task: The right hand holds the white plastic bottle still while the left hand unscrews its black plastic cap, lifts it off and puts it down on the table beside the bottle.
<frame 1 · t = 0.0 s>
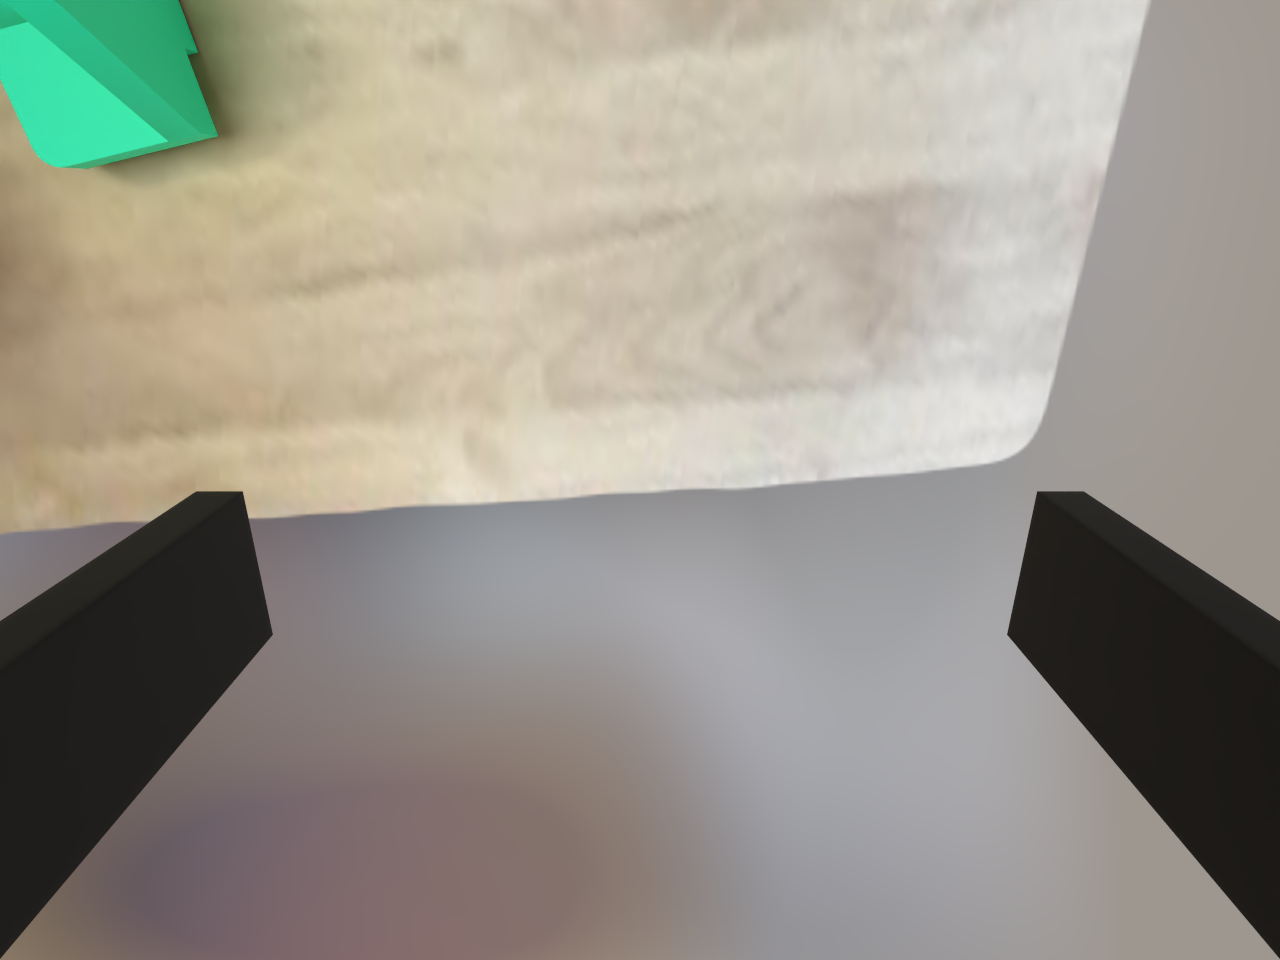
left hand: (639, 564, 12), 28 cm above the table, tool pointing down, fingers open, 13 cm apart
camera mount: (101, 16, 34), on the table
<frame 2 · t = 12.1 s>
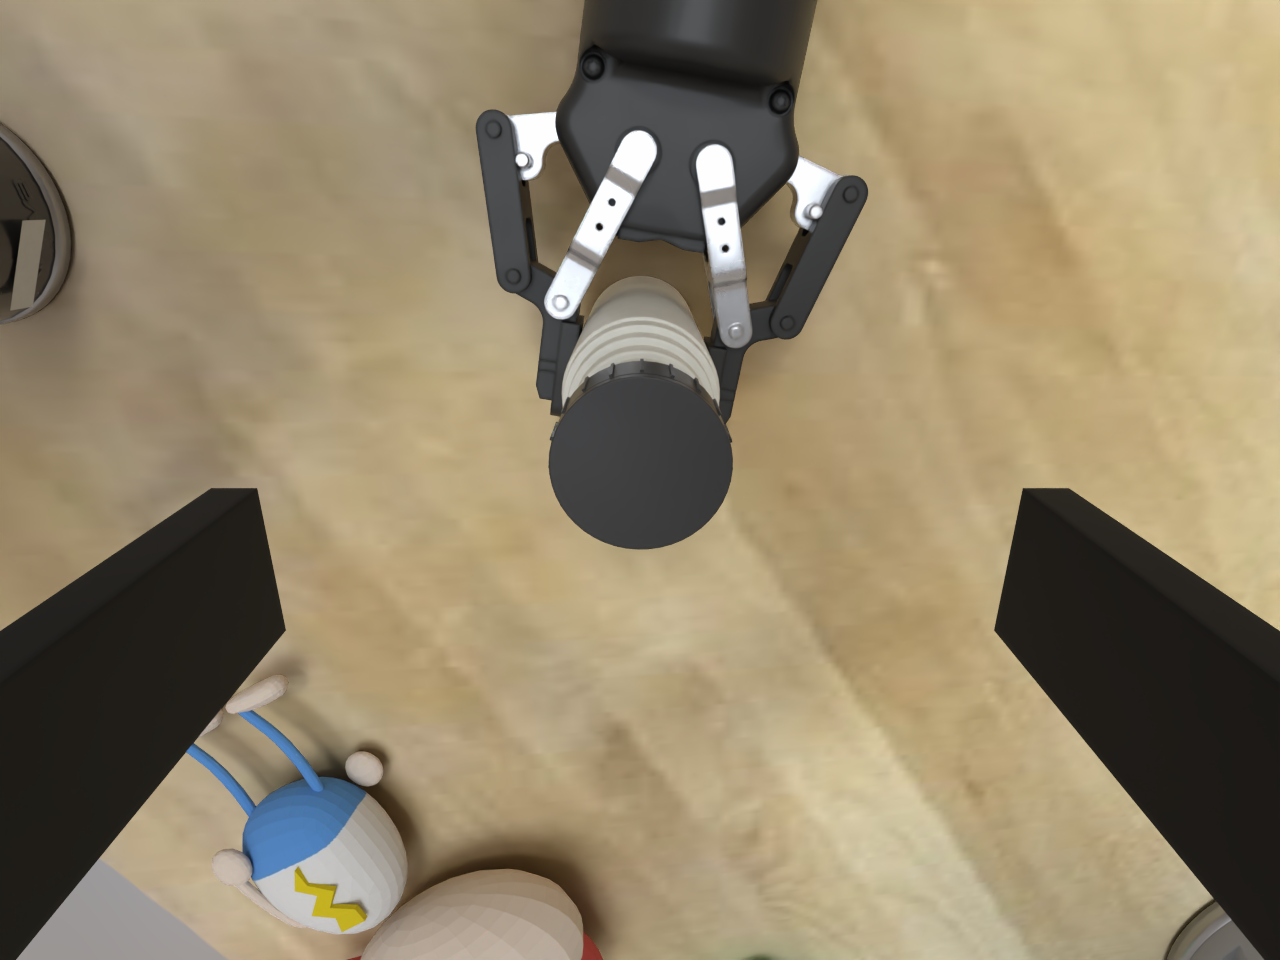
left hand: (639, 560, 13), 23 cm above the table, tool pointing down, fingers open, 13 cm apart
right hand: (630, 420, 29), fingers closed on bottle, 5 cm apart
toy: (413, 843, 46), on the table
bottle: (640, 329, 34), on the table, touching right hand
cap: (640, 462, 17), point 19 cm above the table, screwed on, not yet turned
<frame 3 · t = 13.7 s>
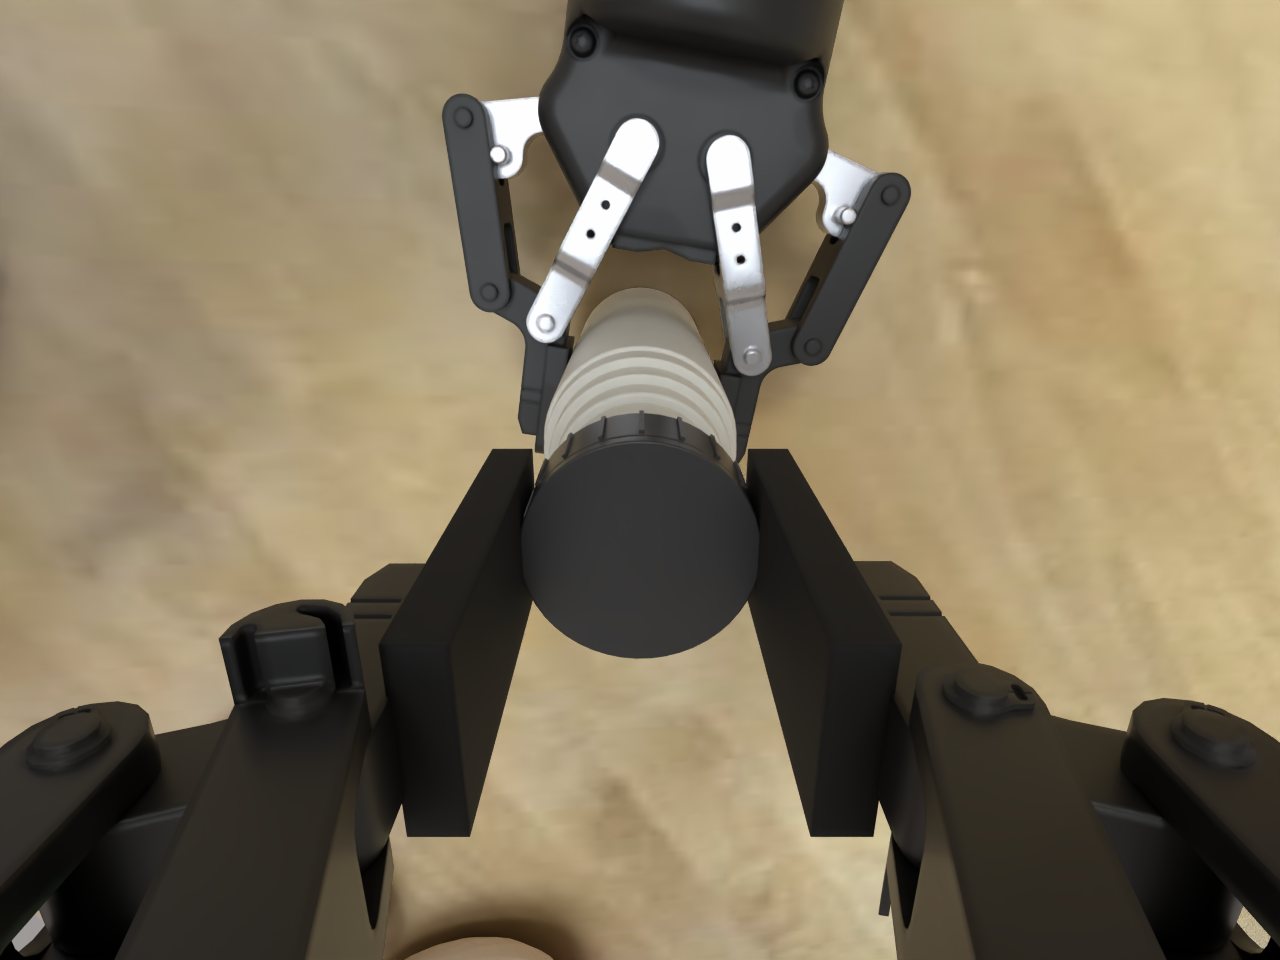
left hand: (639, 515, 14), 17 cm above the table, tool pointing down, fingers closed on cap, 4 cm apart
right hand: (628, 457, 25), fingers closed on bottle, 5 cm apart
toy: (391, 907, 42), on the table
bottle: (640, 348, 30), on the table, touching right hand
cap: (640, 548, 13), point 19 cm above the table, screwed on, not yet turned, touching left hand
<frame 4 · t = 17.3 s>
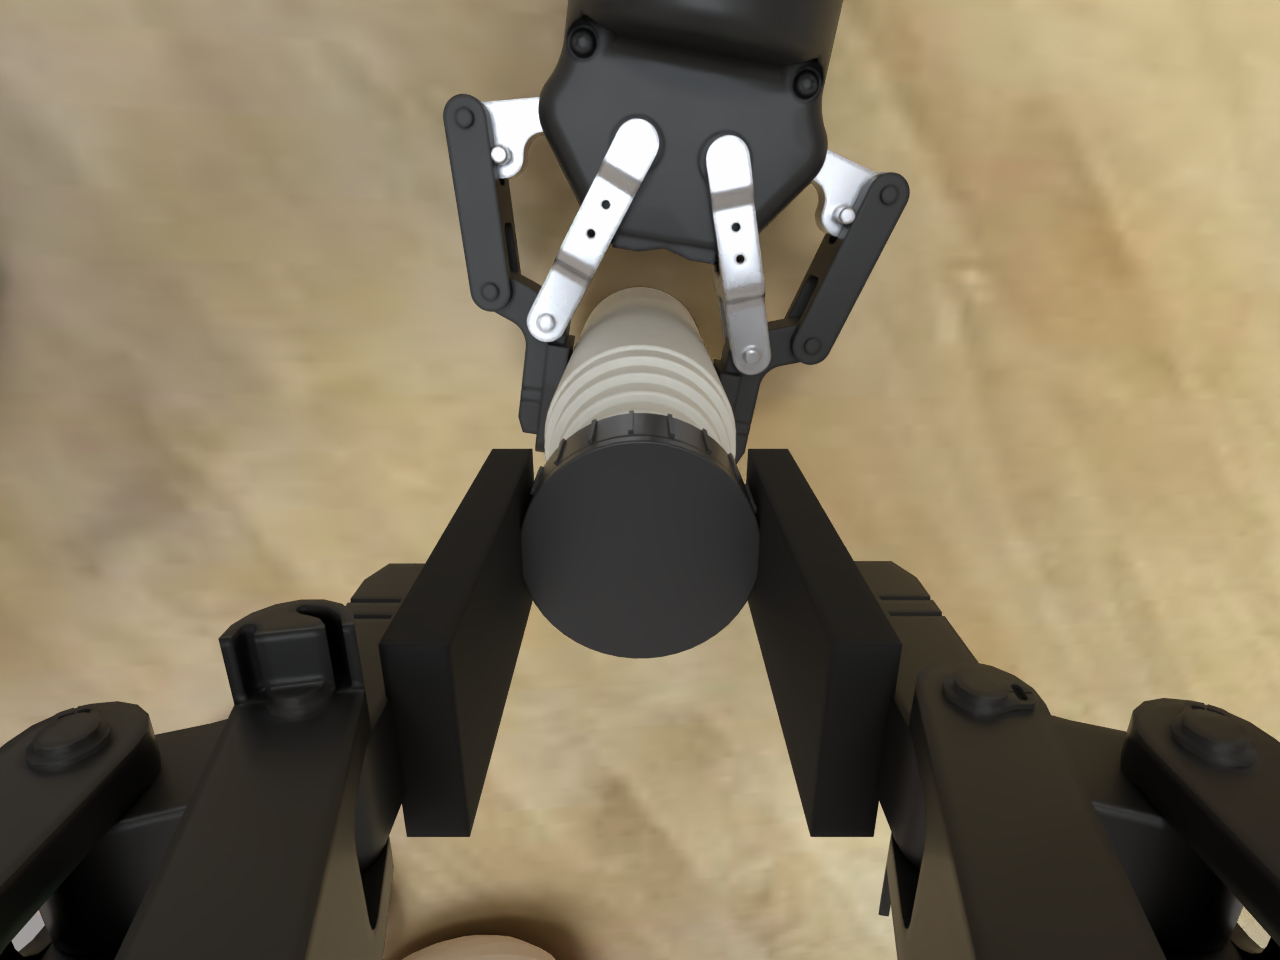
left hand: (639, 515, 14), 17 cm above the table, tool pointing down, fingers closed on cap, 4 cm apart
right hand: (628, 456, 25), fingers closed on bottle, 5 cm apart
toy: (391, 905, 42), on the table
bottle: (640, 347, 30), on the table, touching right hand
cap: (640, 548, 13), point 19 cm above the table, turned 119° so far, risen 0.1 cm, still on its thread, touching left hand
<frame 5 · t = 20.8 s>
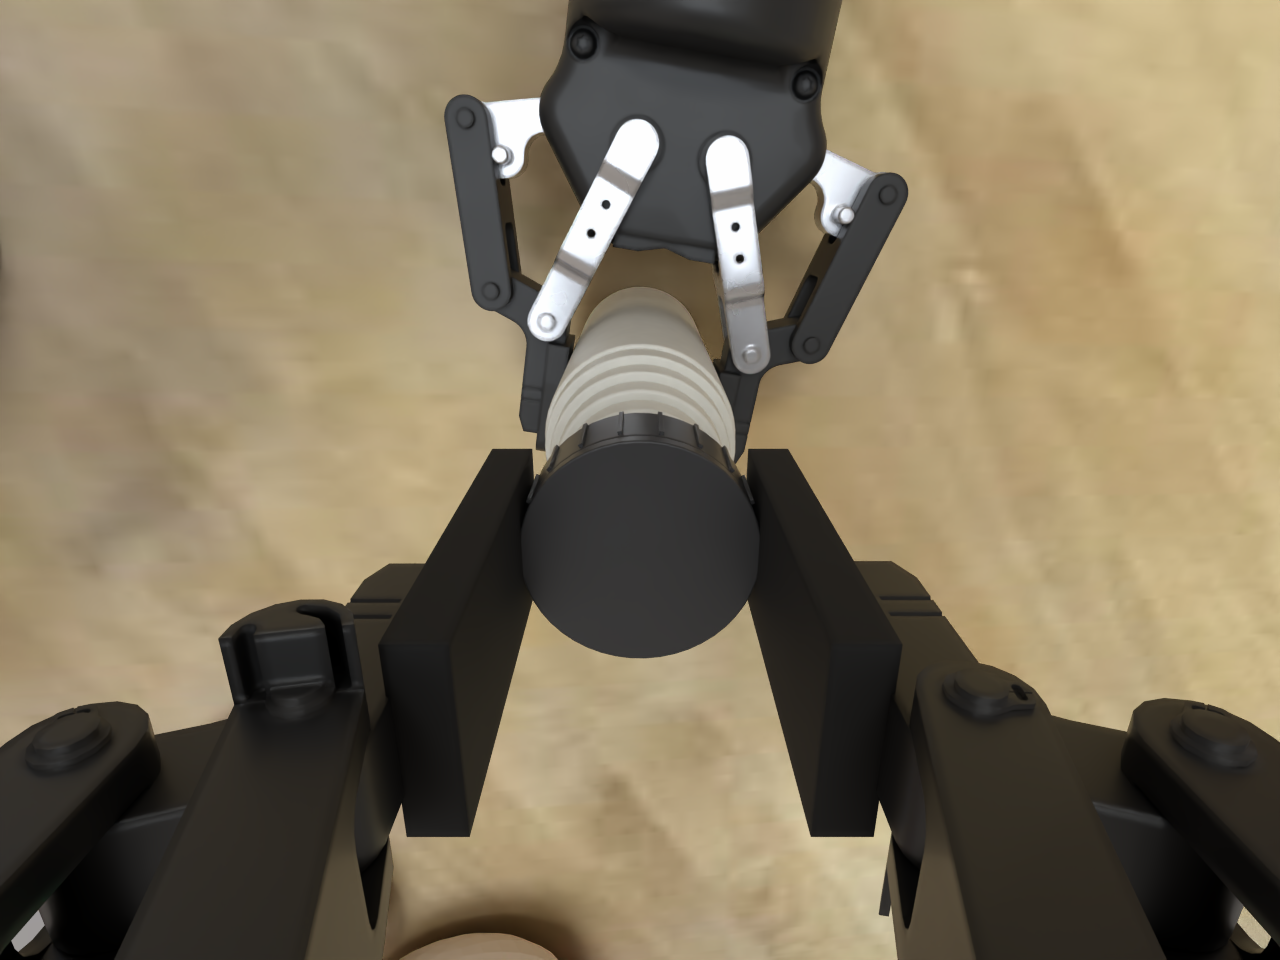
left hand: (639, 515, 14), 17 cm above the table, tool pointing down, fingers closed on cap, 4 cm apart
right hand: (629, 455, 25), fingers closed on bottle, 5 cm apart
toy: (392, 903, 42), on the table
bottle: (640, 346, 30), on the table, touching right hand
cap: (640, 548, 13), point 19 cm above the table, turned 237° so far, risen 0.2 cm, still on its thread, touching left hand
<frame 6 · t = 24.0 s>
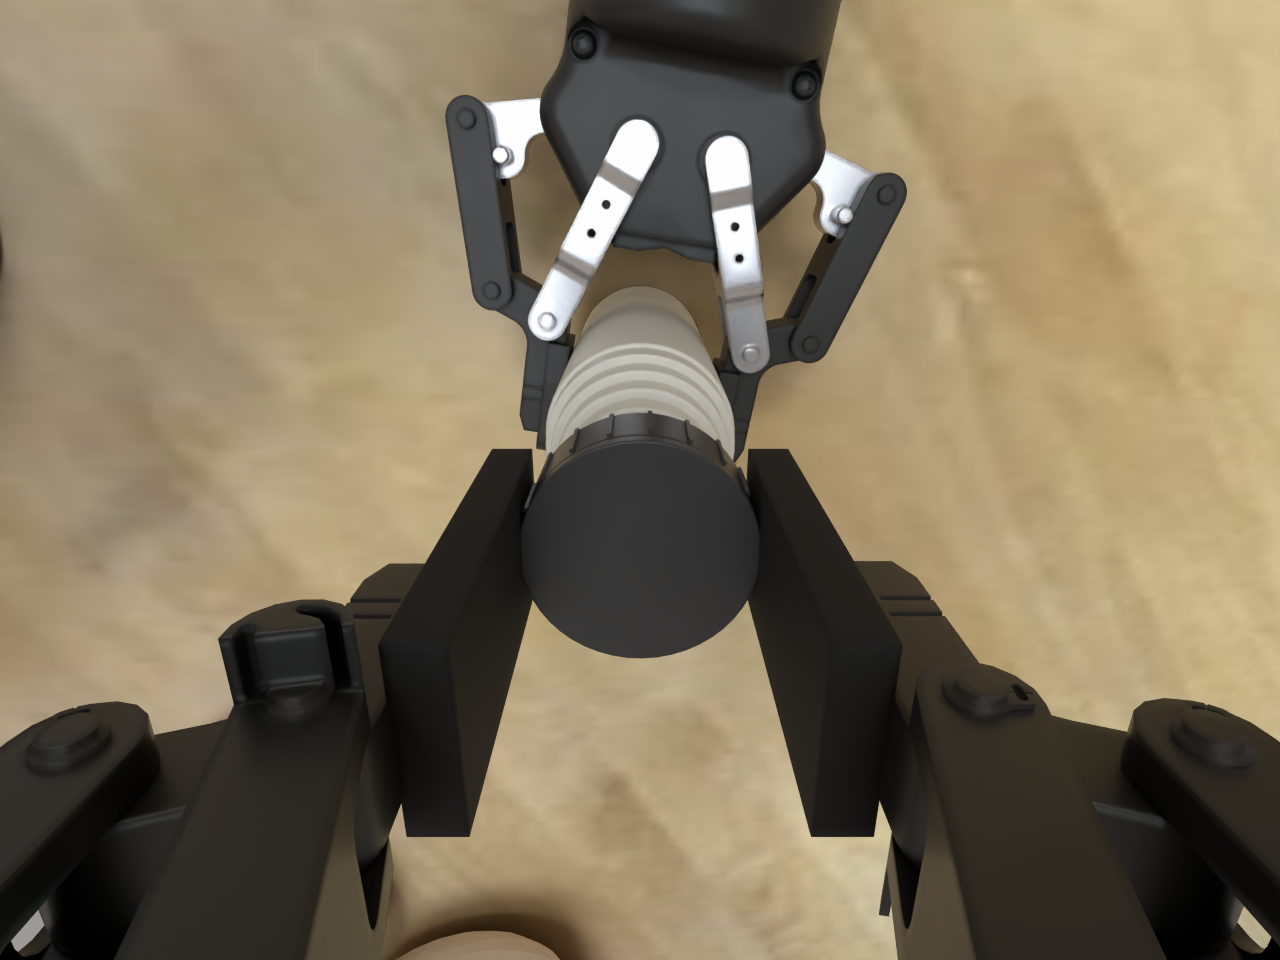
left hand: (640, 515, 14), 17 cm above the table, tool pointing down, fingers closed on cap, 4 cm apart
right hand: (629, 454, 26), fingers closed on bottle, 5 cm apart
toy: (393, 901, 42), on the table
bottle: (640, 346, 31), on the table, touching right hand
cap: (640, 548, 13), point 19 cm above the table, turned 356° so far, risen 0.4 cm, still on its thread, touching left hand
when the left hand's fingers open (2 cm above the table, at t = 30.4 s): cap drops 2 cm, point 1 cm above the table.
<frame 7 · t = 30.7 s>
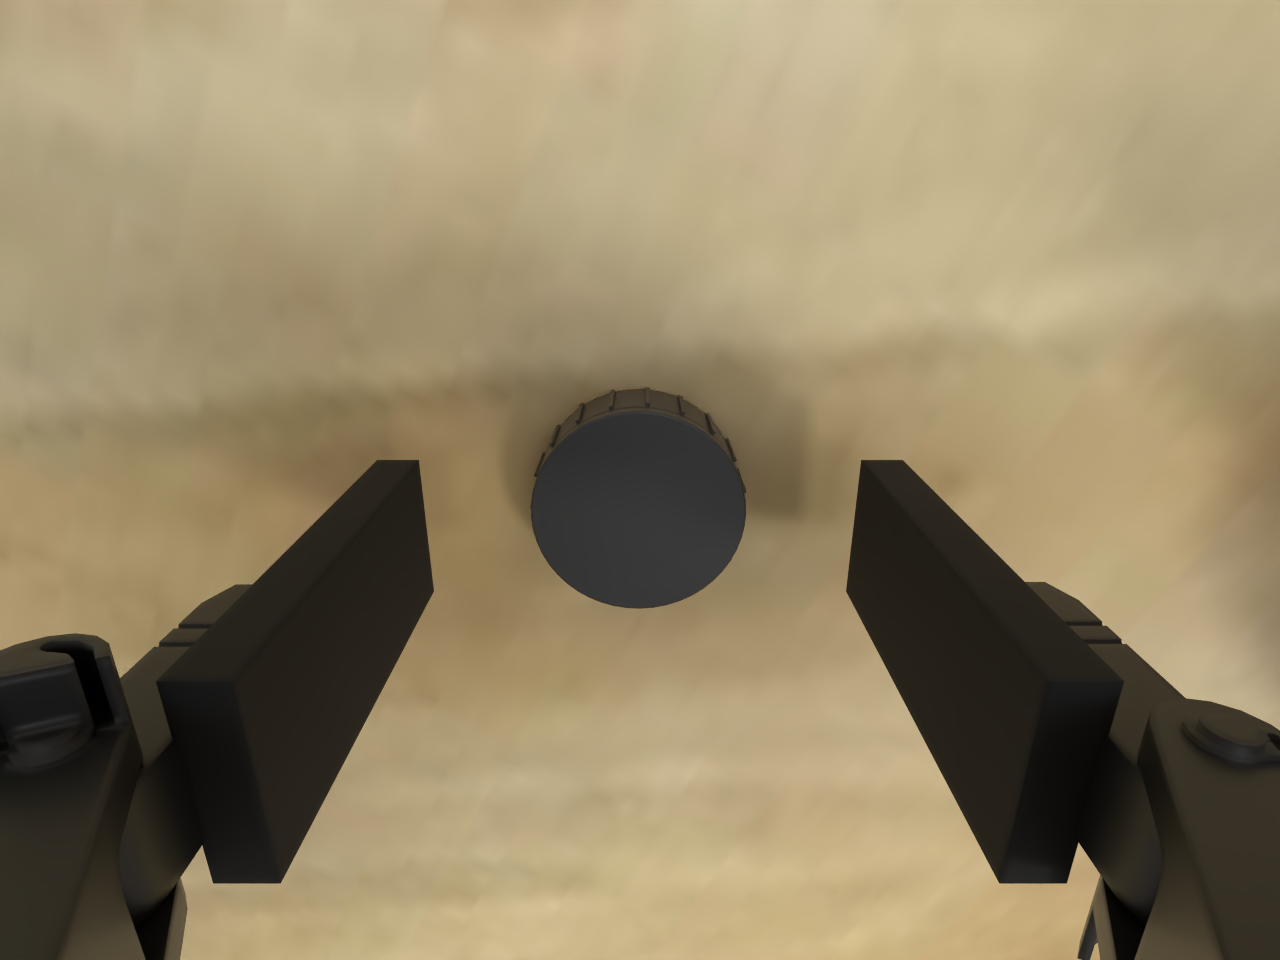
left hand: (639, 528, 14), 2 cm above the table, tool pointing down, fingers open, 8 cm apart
cap: (638, 509, 15), point 1 cm above the table, off its thread
when the right hand's fingers open (6 cm above the table, at t = 31.7 s): bottle stays where it is, on the table.
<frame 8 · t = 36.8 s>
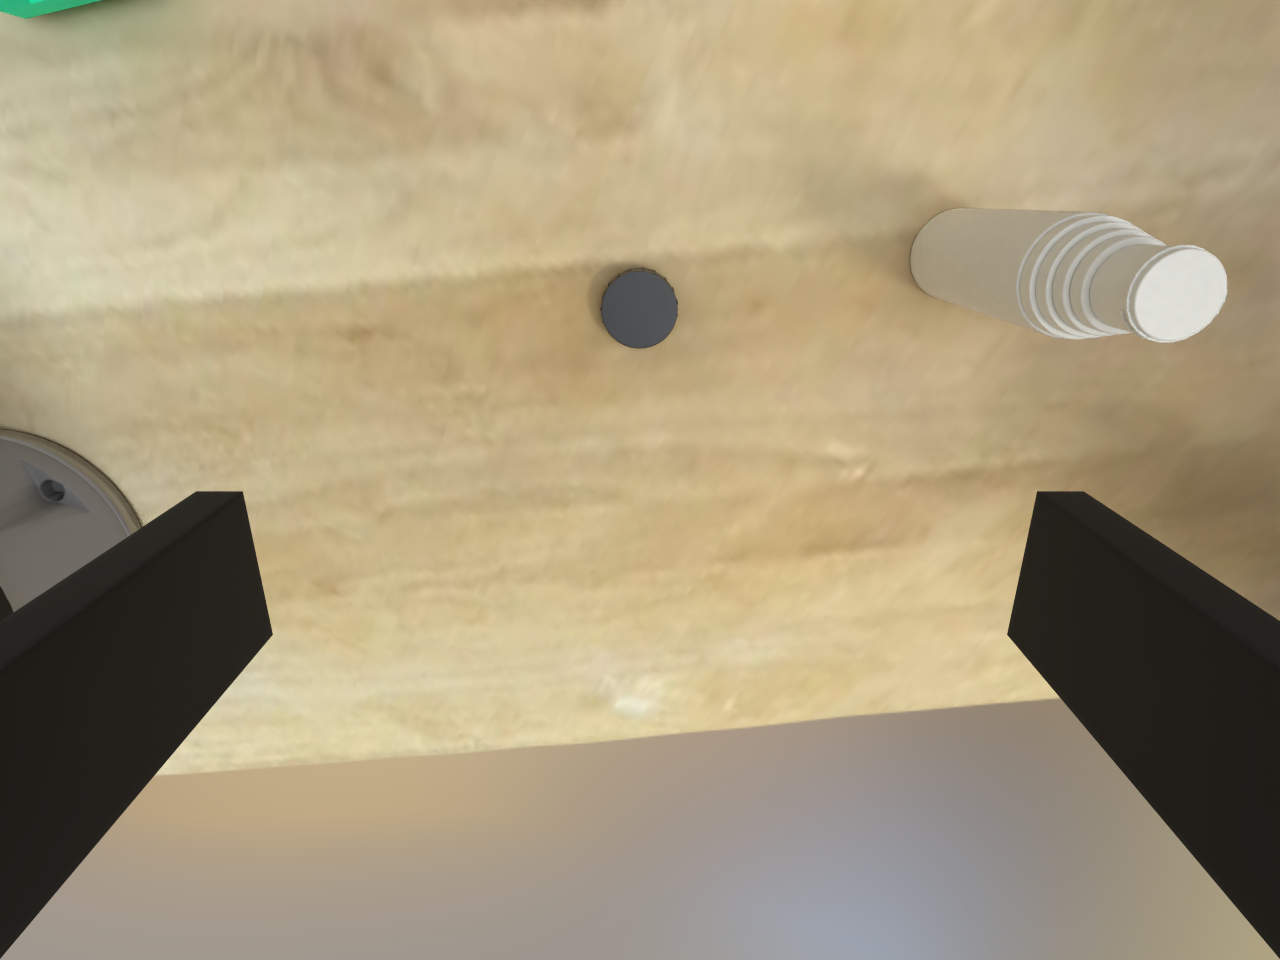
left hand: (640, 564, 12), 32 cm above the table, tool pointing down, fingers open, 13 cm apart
bottle: (953, 254, 41), on the table
cap: (639, 309, 41), point 1 cm above the table, off its thread
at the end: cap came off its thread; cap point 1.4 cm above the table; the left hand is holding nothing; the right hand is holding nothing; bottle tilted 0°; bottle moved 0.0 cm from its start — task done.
